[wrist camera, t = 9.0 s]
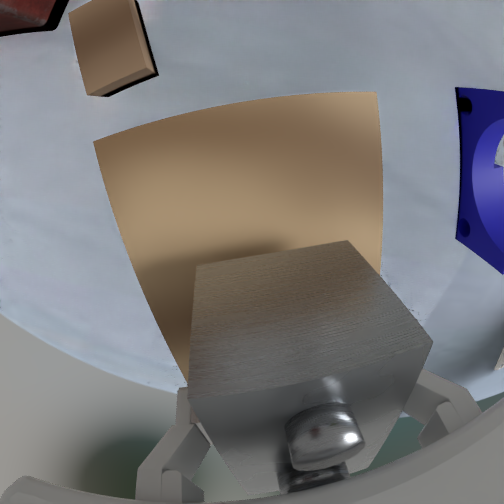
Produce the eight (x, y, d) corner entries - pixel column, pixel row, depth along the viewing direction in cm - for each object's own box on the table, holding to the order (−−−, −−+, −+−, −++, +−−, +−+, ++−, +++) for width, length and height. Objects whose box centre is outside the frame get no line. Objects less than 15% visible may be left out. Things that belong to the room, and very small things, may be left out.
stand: (334, 341, 22) (360, 398, 17) (213, 367, 22) (215, 430, 17) (321, 96, 14) (376, 91, 8) (137, 130, 14) (93, 141, 8)
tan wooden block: (159, 75, 12) (146, 67, 10) (109, 97, 13) (87, 95, 10) (139, 4, 10) (124, -15, 8) (90, 26, 10) (68, 13, 8)
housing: (347, 239, 9) (457, 374, 4) (335, 383, 13) (374, 486, 8) (196, 265, 9) (186, 445, 4) (236, 403, 13) (250, 515, 8)
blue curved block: (485, 227, 19) (530, 258, 14) (454, 237, 19) (502, 274, 14) (487, 91, 14) (544, 101, 8) (453, 87, 14) (517, 93, 8)
